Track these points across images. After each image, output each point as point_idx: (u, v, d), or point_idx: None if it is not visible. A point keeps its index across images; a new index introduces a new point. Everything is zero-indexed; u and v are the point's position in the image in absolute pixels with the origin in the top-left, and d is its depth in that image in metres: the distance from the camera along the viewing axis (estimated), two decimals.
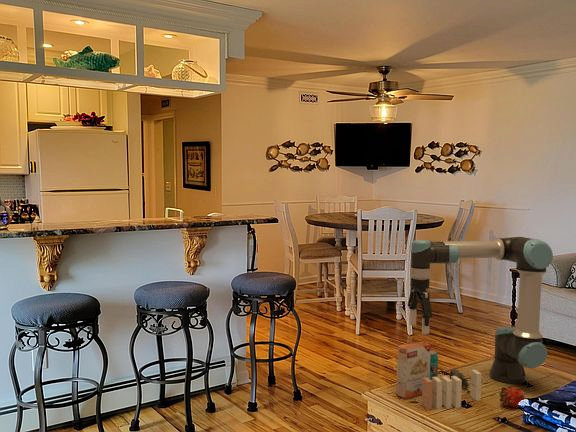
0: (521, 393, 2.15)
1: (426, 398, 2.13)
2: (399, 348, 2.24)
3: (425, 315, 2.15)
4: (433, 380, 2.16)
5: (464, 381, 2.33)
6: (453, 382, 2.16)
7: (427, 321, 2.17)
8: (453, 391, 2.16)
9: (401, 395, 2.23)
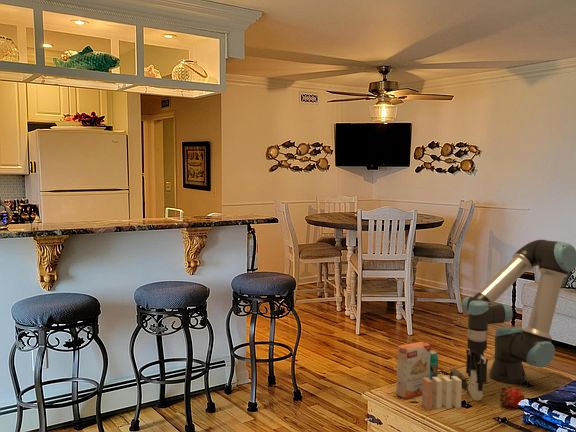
0: (521, 393, 2.15)
1: (426, 398, 2.13)
2: (399, 348, 2.24)
3: (479, 381, 2.18)
4: (433, 380, 2.16)
5: (463, 381, 2.33)
6: (453, 382, 2.16)
7: (481, 386, 2.20)
8: (453, 391, 2.16)
9: (401, 395, 2.23)
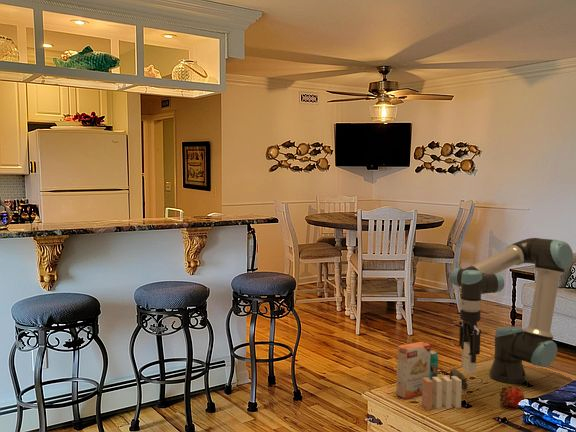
0: (521, 393, 2.15)
1: (426, 398, 2.13)
2: (399, 348, 2.24)
3: (472, 352, 2.10)
4: (433, 380, 2.16)
5: (463, 381, 2.33)
6: (453, 382, 2.16)
7: (474, 358, 2.12)
8: (453, 391, 2.16)
9: (401, 395, 2.23)
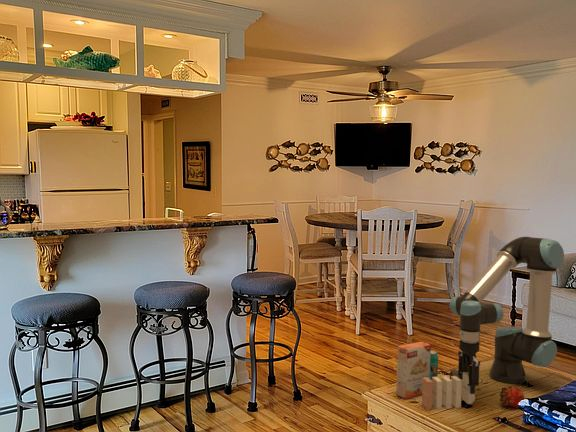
0: (521, 393, 2.15)
1: (426, 398, 2.13)
2: (399, 348, 2.24)
3: (471, 383, 2.11)
4: (433, 380, 2.16)
5: None
6: (453, 382, 2.16)
7: (473, 389, 2.12)
8: (453, 391, 2.16)
9: (401, 395, 2.23)
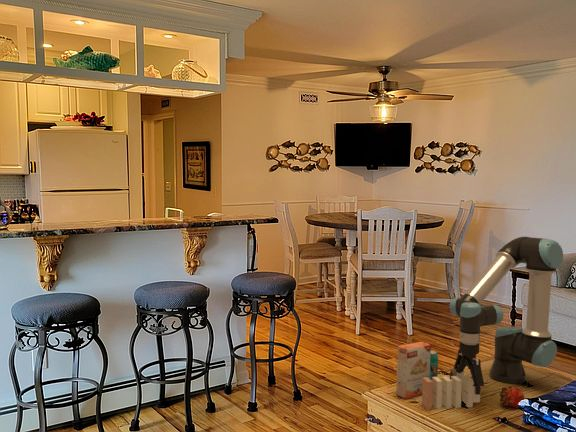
0: (521, 393, 2.15)
1: (426, 398, 2.13)
2: (399, 348, 2.24)
3: (477, 384, 2.07)
4: (433, 380, 2.16)
5: None
6: (453, 382, 2.16)
7: (478, 390, 2.09)
8: (453, 391, 2.16)
9: (401, 395, 2.23)
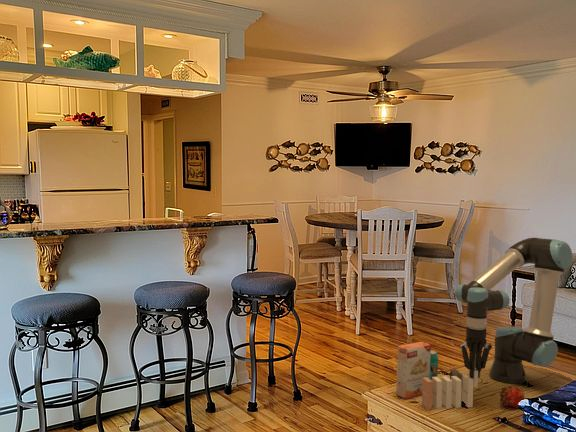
0: (521, 393, 2.15)
1: (426, 398, 2.13)
2: (399, 348, 2.24)
3: None
4: (433, 380, 2.16)
5: (462, 381, 2.33)
6: (453, 382, 2.16)
7: (470, 373, 2.16)
8: (453, 391, 2.16)
9: (401, 395, 2.23)
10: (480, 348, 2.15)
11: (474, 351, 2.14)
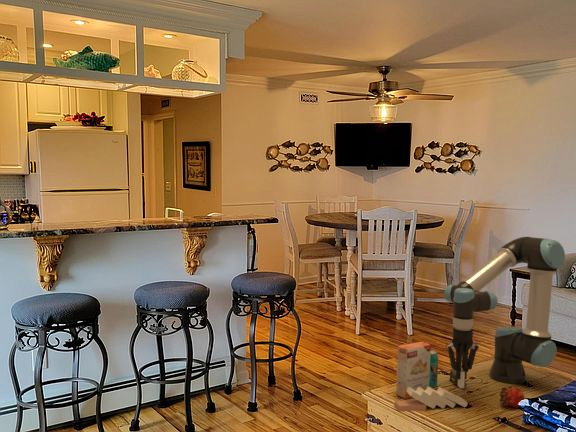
0: (521, 393, 2.15)
1: None
2: (399, 348, 2.24)
3: None
4: None
5: None
6: None
7: (457, 374, 2.16)
8: None
9: (401, 395, 2.23)
10: (466, 349, 2.14)
11: (460, 352, 2.14)
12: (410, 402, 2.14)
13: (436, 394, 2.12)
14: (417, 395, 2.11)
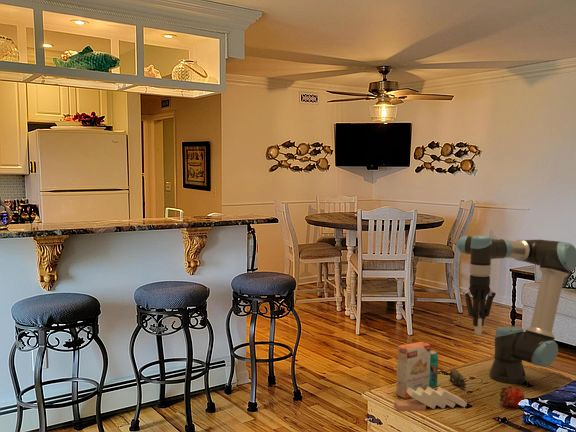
0: (521, 393, 2.15)
1: None
2: (399, 348, 2.24)
3: None
4: (409, 393, 2.15)
5: (461, 381, 2.33)
6: None
7: (474, 321, 2.15)
8: None
9: (401, 395, 2.23)
10: (484, 295, 2.13)
11: (478, 298, 2.13)
12: (410, 402, 2.14)
13: (436, 394, 2.12)
14: (417, 395, 2.11)
